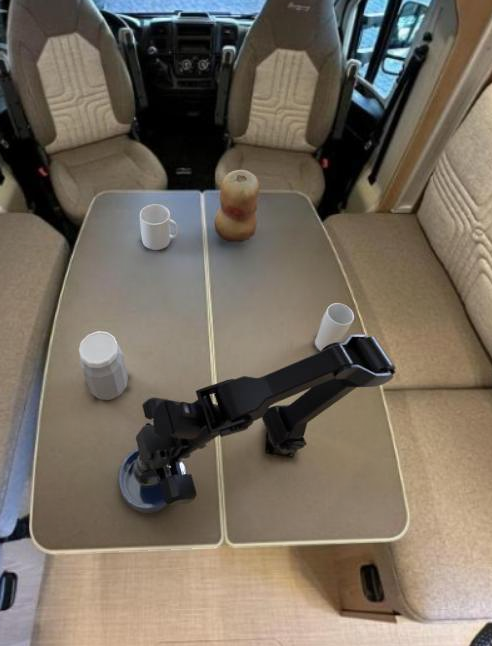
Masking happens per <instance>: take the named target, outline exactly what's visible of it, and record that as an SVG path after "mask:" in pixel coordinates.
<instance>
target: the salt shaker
mask: <svg viewBox="0 0 492 646" xmlns="http://www.w3.org/2000/svg"><path fill="white" fill-rule="evenodd" d="M151 469H152V468H151V466H150V464H149V463H146V461H145V460H142V459H141V458H140V456H138V459H137V460H136V461H135V463H134V466H133V475H134V478H135V480H136V481H137V482H138V483H139V484H140V485H141V486H142V487H144V488H152V487H154V486H155V485H157V484H158V482H159V481H158V479H157V477H152V478H140V476H141V475H142V474H144V473H145V472H147V471H149V470H151Z"/></svg>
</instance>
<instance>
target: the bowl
mask: <svg viewBox="0 0 492 646" xmlns="http://www.w3.org/2000/svg"><path fill="white" fill-rule="evenodd" d="M138 451H139V449H138V448H136V449H134V450H132V451H131V452H130V453H129V454H128V455H126V457H125V458H124V459H123V462H122V463H121V465H120V470H119V474H118V486H119V489H120V492H121V494H122V496H123V499H124V501H125V502H126V503H127V504H128V506H129V507H130V508H131V509H133V510H134V511H136V512H138V513H143V514H152V513H157V512H159V511H161V510H163V509H164V508H166V507H167V506H168V505H167V504H166V503H165V501H164V497H163V492H162V488H161V485H162V483H160V482H158V484H157V485H155V486H154V487H152V488H144V487H142V486H141V485H140V484H139V483H138V482H137V481H136V480H135V478H134V475H133V466H134V463H135V461H136V460H137V459H138V458H136V454H137V453H138Z"/></svg>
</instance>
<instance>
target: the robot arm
mask: <svg viewBox="0 0 492 646" xmlns="http://www.w3.org/2000/svg"><path fill="white" fill-rule="evenodd" d="M395 369H396V366H395V364H394V363H393V361H392V360H391V359H390V357H389V356H388V354H387V353H386V351H385V350H384V349H383V346H382V345H381V344H380V342H379V340H378V339H377V337H376V336H368V335H367V334H359V333H358V334H352V333H351V334H349V335H348V336H347V337H345V338H344V339H343V340H342V341H339V342H335V343H331V344H329V345H327V346H325V347H324V348H323V349H322V350H321V351H319V352H316V353H314V354H311V355H309V356H306V357H304V358H303V359H300V360H298V361H296V362H293V363H291V364H289V365H286V366H284V367H281V368H279V369H276V370H275V371H272V372H269V373H267V374H265V375H262V376H260V377H255V376H249V375H248V376H247V375H243V376H240V377H236V378H229V379H225V380H222V381H220V382H217V383H214V384H210V385H208V386H205V387H201V388H199V389H197V390H195V394H196V397H197V400H195V401H194V402H187V401H178V400H170V399H166V398H158V397H149V398H147V400H146V401H143V403H142V405H141V406H142V410H143V414H144V418H145V419H147V420H151V422H146V423H145V425H143V426H142V428H141V429H140V430H139V431H138V433H137V434H136V436H135V441H136V445H137V449H139V451H138V453H137V454H136V458H138V456H140V458H141V459H142V460H145V461H146V463H149V464H150V466H151V468H152V469H151V470H149V471H147V472H145V473H144V474H142V475H141V476H140V478H152V477H157V479H158V481H159V482H160V483H162V485H161V488H162V492H163V497H164V501H165V503H166V504H167V506H176V505H184V504H189V503H191V502H193V501H195V500H196V498H197V491H196V487H195V483H194V479H193V475H192V474H191V473H188V474H187V471H186V467H185V464H184V462H182V461H181V460H183V459H188V458H190V457H191V454H193V453H194V452H195V451H197V450H199V449H200V450H203V449H204V448H206V447H207V445H206V444H208V443H209V442H211V441H213V440H214V439H216V438H217V437H220V438H223V437H226V436H230V435H233V434H237V433H241V432H244V431H247V430H248V429H249V428H250V426H252V425H253V424H254V422H255V421H258V420H259V419H261V420H262V422H263V424H264V427H265V443H264V444H265V446H264V447H265V448H264V453H265V454H267V455H270V456H278V457H285V458H291V459H292V458H294V457H295V455H296V454H297V452H298V450H301V449H304V447H305V446H307V444H308V443H307V441H306V439H305V437H304V436H305V434H306V429H307V426H308V423H309V422H311V421H312V420H313V419H315V418H317V417H318V416H319V415H320V414H322V413H323V412H325V411H326V410H327V409H329V408H331V406H333V405H335V404H336V403H338V401H340V400H341V399H343V398H344V397H346V396H347V395H348V394H350V393H351V392H352V391H354V390H355V389H357V388H374V387H379V386H382V385H385V384H387V383H388V382H390V381H391V380H393V378H394V375H395V374H396V370H395ZM303 392H304V393H303ZM300 393H303V394H301V395H300V396H299V397H297V399H295V400H294V401H293V402H290V404H280V405H279V404H277V403H279V402H281V401H284V400H286V399H288V398H291V397H293V396H296V395H298V394H300ZM211 395H213V396H214V399H215V402H216V403H213V400H212V396H211ZM274 404H275V405H274ZM276 404H277V405H276Z"/></svg>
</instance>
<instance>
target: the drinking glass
mask: <svg viewBox="0 0 492 646" xmlns="http://www.w3.org/2000/svg"><path fill="white" fill-rule="evenodd" d="M354 319H355V314H354V312H353V310H352V309H351V308H350V307H349V306H348V305H346V304H345V303H344V304H343V303H340V302H335V303H332V304H331V303H330V305H328V307H327V308H326V310H325V312H324V314H323V316H322V319H321V322H320V326H319V329H318V333H317V335H316V338H315V340H314V345H315V347H316V349H317V350H318V351H319V352H321V350H322V349H323V348H324V347H325V346H327V345H329V344H331V343H335V342H341V340H342V339H343V337H344V336H345V335H346V334H347V332H348V331H349V329H350V328H351V326H352V324H353V322H354Z"/></svg>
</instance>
